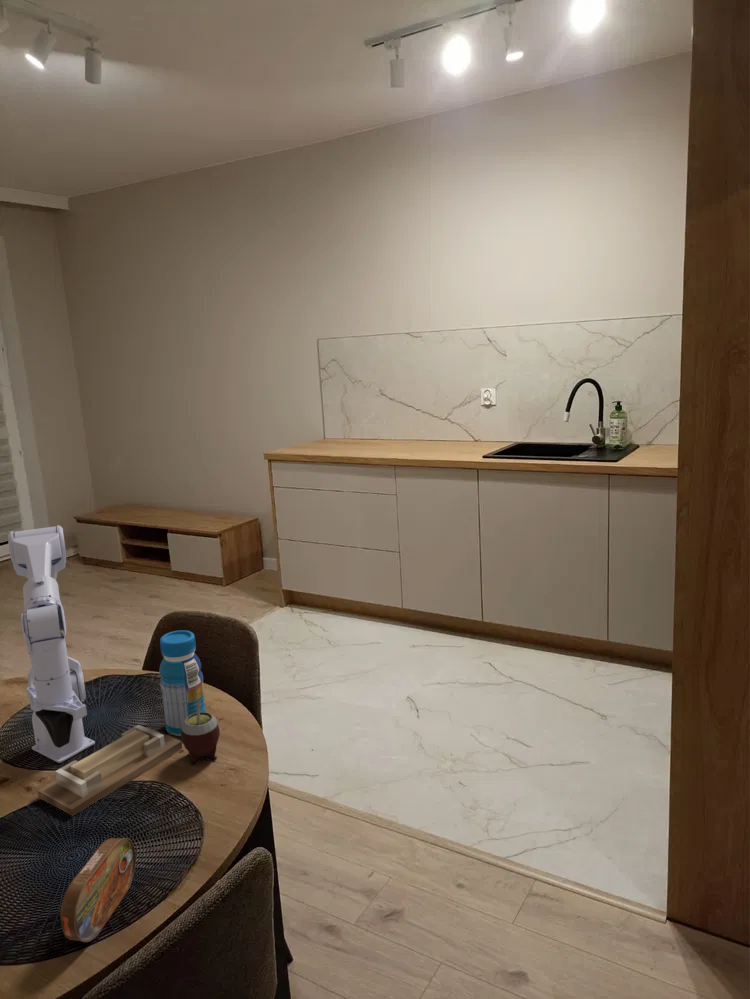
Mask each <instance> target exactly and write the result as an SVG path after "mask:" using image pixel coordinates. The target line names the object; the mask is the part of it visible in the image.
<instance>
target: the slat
mask: <svg viewBox="0 0 750 999" xmlns="http://www.w3.org/2000/svg"><path fill="white" fill-rule="evenodd" d="M147 741H149V735H147V734H145V733H142V732H140V731H138V730H134V731H132V732H130V733H128V734H127V735H125V736H123V737H122V736H121V737H119V738H118V739H116V740H114V741H113V742H111V743H109V744H108V745H106V746H103V747H102V748H101V749H98V750H97V751H95V752H93V753H91V754H89V755H88V756H86V757H84V758H82V759H80V760H79V761H78V762H77V763H75V764H74V765H72V766H71V772H72V775H74V776H76V777H78V778H80V779H82V780H83V779H85V778H87V777H88V776H90V775H92V774H93V773H95V772H97V771H98V772H100V773H101V777H102V779H103V778H104V777H106V776H108V775H109V774H111V773H112V772H114V771H116V770H117V769H119V768H121V767H122V766H124V765H126V764H127V763H129V762H131V761H132V760H134V759H136V758H137V757H139V756H141V755H142V754H144V743H146V742H147Z"/></svg>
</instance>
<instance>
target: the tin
mask: <svg viewBox="0 0 750 999" xmlns="http://www.w3.org/2000/svg"><path fill="white" fill-rule="evenodd" d="M136 855H137V854H136V847H135V845H134V843H133V840H132V839H130V838H127V837H122V838H119V837H117V838H116V837H114V838H113V837H111V838H108V839H106V840H104V841H103V842H101V844H100V845H99V847H98V848H97V849H96V850H95V852H94V853H93V854H92V855H91V856H90V858H89V859H88V860H87V861H86V863H85V864H84V866H82V868H81V869H80V870H79V871H78V873H77V874H76V875H75V877H74V878H73V879H72V880H71V882H70V883H69V885H68V887H67V888H66V891H65V892H64V896H63V898H62V902H61V906H60V913H59V916H60V923H61V924H60V925H61V930H62V932H63V935H64V937H65V938H66V939H68V940H71V941H78V942H82V943H90V942H92V941H93V940H94V939H96V938H97V937H98V936H99V934H100V933H101V931H102V930H103V929H104V926H105V925H106V924H107V922H108V920H109V919H110V918H111V916H112V915H113V914H114V912H115V911H116V909H117V907H118V906H119V905H120V903H121V902H122V900H123V899H124V897H125V896H126V894H127V893H128V892H129V889H130V887H131V885H132V882H133V880H134V876H135V871H136V866H137V865H136V862H137V856H136Z"/></svg>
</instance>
